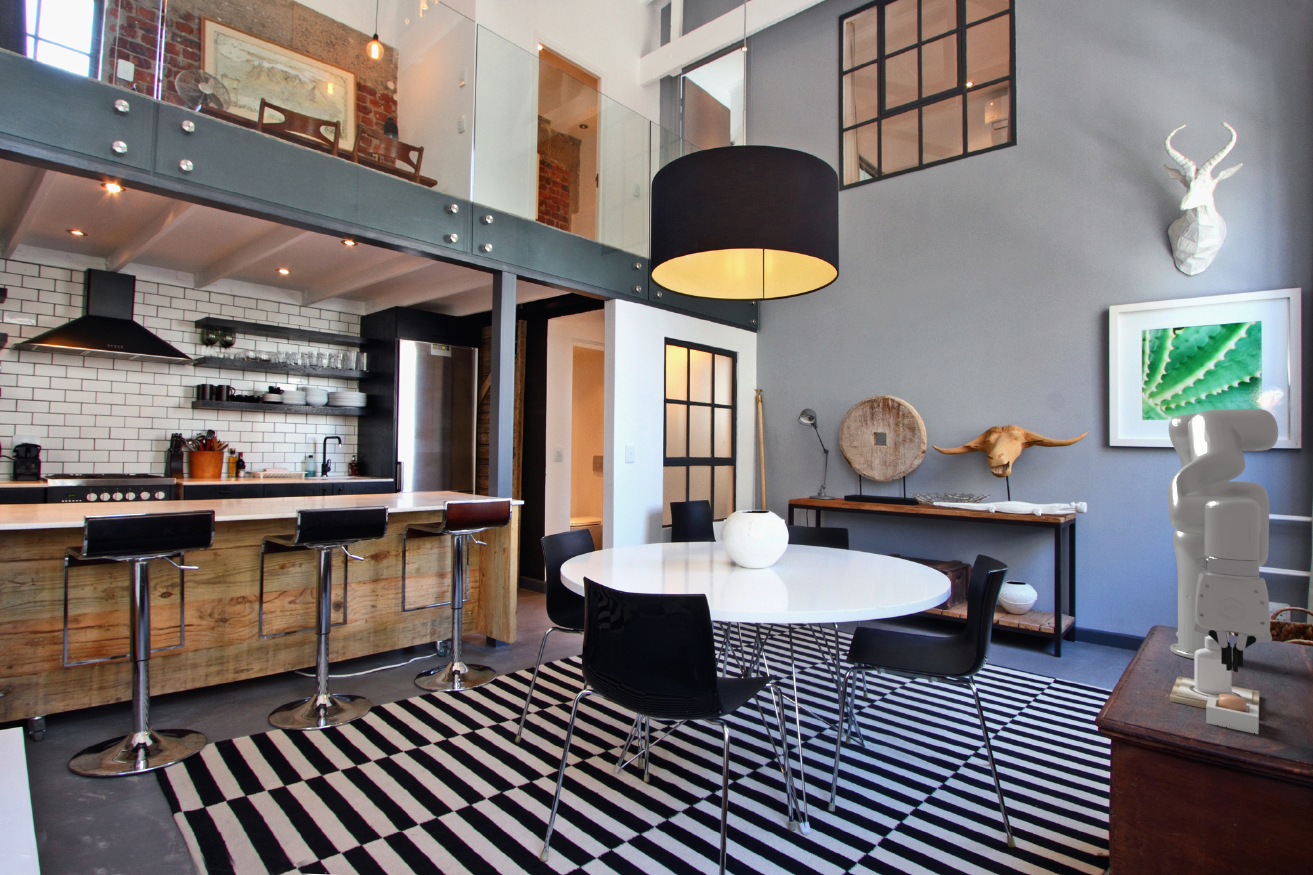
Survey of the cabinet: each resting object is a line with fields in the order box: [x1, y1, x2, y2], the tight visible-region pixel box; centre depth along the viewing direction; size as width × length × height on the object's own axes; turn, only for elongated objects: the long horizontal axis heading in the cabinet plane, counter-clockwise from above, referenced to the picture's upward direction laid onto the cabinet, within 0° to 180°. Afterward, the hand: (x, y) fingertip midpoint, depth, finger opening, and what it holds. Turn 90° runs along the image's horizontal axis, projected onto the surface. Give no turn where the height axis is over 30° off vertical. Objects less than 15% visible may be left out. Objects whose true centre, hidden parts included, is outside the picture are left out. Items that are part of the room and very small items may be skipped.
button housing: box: [1205, 696, 1260, 735], centre depth 122 cm, size 7×7×3 cm
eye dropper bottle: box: [1193, 636, 1233, 695], centre depth 134 cm, size 4×6×12 cm
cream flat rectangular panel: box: [1169, 676, 1260, 709], centre depth 134 cm, size 16×13×1 cm
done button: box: [1219, 694, 1246, 712], centre depth 122 cm, size 4×4×2 cm
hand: (1232, 669), depth 122 cm, fingers closed
